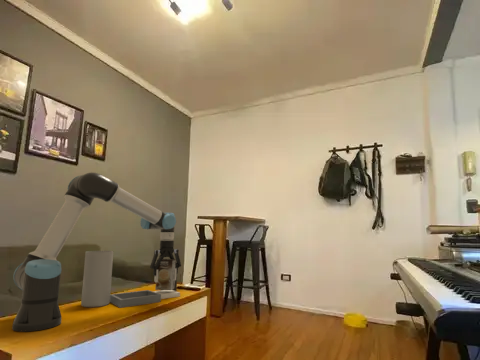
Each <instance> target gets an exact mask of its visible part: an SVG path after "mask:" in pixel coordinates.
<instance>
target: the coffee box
mask: <svg viewBox="0 0 480 360" xmlns="http://www.w3.org/2000/svg"><path fill="white" fill-rule="evenodd" d="M157 261H158V259H157V260H156V262H157ZM175 262H176V258H174V259H170V258H163V259H162V261H161V263H160V264H159V266H158V268H157V270H158V282H155V291H160V290H172V289H174V283H175ZM176 263H177V262H176Z"/></svg>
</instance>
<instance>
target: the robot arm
mask: <svg viewBox="0 0 480 360" xmlns="http://www.w3.org/2000/svg"><path fill="white" fill-rule="evenodd" d="M63 197H64V199H65V200H64V203H63V204H62V206H61V208H60V209H59V210H58V212H57V214H56V216H55V217H54V219H53V220H52V222H51V224H50V226H49V227H48V229H47V230H46V232H45V234H44V235H43V237H42V238H41V241H40V242H39V244H37V246H36V249H35V250H33V251H31V252H29V253H28V254H27V255H26V258H24V261H23V262H22V263H20V264H19V265H18V266H17V267H16V268H15V270H14V272H13V276H12V277H13V282H14V284H15V286H16V287H17V288H18V289H19V290H21V291H22V292H21V293H22V294H21V301H20V303H21V304H20V307H19V309H18V311H17V313H16V315H15V318H14V320H13V323H12V328H11V329H12V331H15V332H25V333H26V332H34V331H35V332H36V331H43V330H47V329H51V328H54V327H56V326H57V327H58V326H59V325H61V324H62V314H61V310H60V306H59V293H60V284H61V283H60V282H61V274H62V262H61V261H59V260H57V257H58V256H59V253H60V252H61V250H62V249H63V247H64V245H65V243H66V242H67V240H68V239H69V236H70V234H71V233H72V232H73V229H74V227H75V225H76V224H77V223H78V220H79V219H80V218H81V215H82V213H83V212H84V210H85V209H87V208H90V206H91V205H92V203H93V201H94V199H98V200H101V201H104V202H106V203H109V202H111V203H113V204H115V205H117V206H118V207H120V208H122V209H124V210H126V211H128V212H130V213H132V214H133V215H135V216H137V217H139V218H140V222H139V223H140V227H141V228H142V229H143V230H160V241H159V249H154V250H153V251H154V252H153V254H154V255H153V258H152V260H151V263H150V266H149V268H150V269H152V270H153V272H152V276H154V281H153V282H155V283H156V282H158V270H157V268H158V266H159V264H160V263H161V261H162V259H165V258H168V259H176V262H175V280H176V274H177V275H178V273H179V272H178V271H179V269H180V268H181V267H182V263H181V259H180V255H179V251H180V250H179V249H178V248H177V249H174V247H175V246H174V245H175V244H174V243H175V241H174V239H175V227H176V223H177V218H176V216H175V215H176V214H175V213H173V212H163V211H162V210H161V209H158V208H157V207H155V206H153V205H151V204H149V203H147V202H146V201H144V200H142V199H141V198H139V197H137V196H135V195H134V194H132V193H130V192H129V191H127V190H125V189H123V188H122V187H120V185H119V183H118V182H115V180H112V179H110V178H108V177H107V176H105V175H103V174H100V173H98V172H92V171H91V172H87V173H85V174H81V175H77V176H75V177H73V179H71V180H70V182H69V183H68V185H67V190H66V192H65V194H64V196H63ZM173 253H174V255H173ZM157 260H158V261H157Z"/></svg>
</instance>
